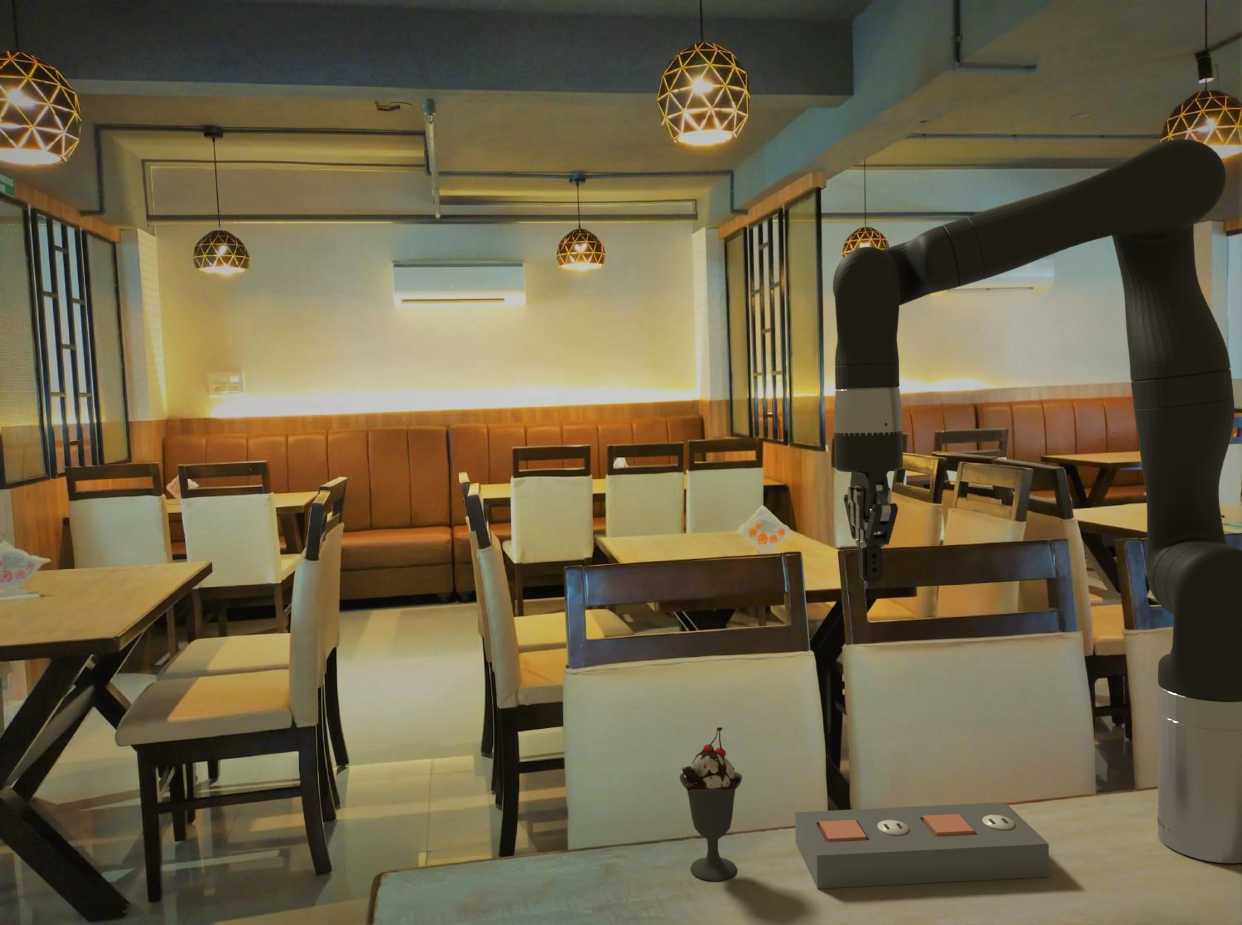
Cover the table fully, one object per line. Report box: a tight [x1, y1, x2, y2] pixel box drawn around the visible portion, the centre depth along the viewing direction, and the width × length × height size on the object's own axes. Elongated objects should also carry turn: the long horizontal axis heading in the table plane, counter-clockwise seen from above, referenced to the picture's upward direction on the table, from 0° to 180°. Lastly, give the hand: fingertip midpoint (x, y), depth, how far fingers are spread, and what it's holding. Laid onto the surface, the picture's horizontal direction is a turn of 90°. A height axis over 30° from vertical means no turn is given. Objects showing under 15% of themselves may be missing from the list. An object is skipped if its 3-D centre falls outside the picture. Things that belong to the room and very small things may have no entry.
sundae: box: [679, 726, 743, 882], centre depth 98 cm, size 7×7×15 cm
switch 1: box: [819, 820, 866, 842], centre depth 99 cm, size 4×4×2 cm
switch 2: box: [923, 814, 974, 837], centre depth 99 cm, size 4×4×2 cm
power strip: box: [794, 801, 1050, 890], centre depth 99 cm, size 24×10×4 cm, turn 92°
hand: (870, 579), depth 106 cm, fingers closed
